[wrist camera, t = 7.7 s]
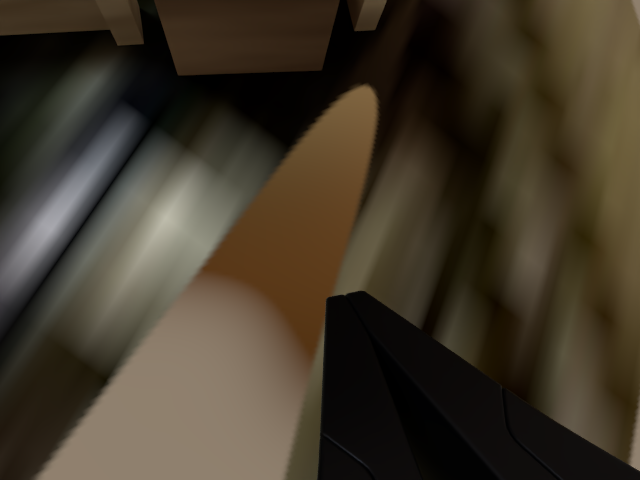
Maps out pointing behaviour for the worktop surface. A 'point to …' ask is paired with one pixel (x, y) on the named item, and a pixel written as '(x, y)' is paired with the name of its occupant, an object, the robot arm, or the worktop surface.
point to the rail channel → (119, 17)
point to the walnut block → (247, 34)
